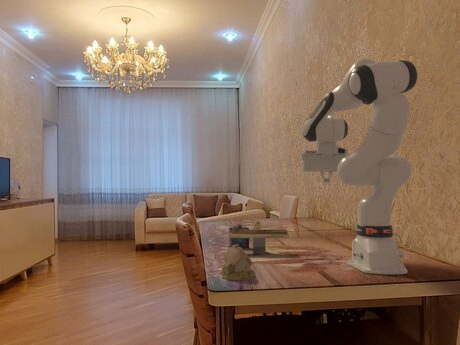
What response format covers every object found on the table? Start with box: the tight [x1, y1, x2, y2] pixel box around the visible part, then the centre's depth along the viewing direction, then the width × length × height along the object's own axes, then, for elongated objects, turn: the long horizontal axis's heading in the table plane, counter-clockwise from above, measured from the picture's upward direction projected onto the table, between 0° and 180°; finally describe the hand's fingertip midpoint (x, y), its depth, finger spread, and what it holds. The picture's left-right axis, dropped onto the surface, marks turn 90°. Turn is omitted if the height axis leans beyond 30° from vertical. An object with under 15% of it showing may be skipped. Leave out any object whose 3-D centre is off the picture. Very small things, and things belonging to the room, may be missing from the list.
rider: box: [253, 220, 262, 231], centre depth 168 cm, size 3×3×5 cm
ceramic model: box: [220, 244, 256, 281], centre depth 129 cm, size 14×11×10 cm
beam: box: [230, 225, 290, 255], centre depth 168 cm, size 6×24×11 cm, turn 86°
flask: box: [228, 222, 250, 249], centre depth 182 cm, size 9×3×11 cm, turn 73°
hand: (326, 182), depth 175 cm, fingers closed
